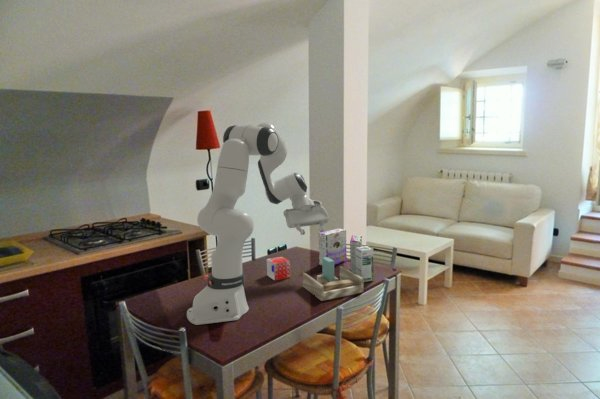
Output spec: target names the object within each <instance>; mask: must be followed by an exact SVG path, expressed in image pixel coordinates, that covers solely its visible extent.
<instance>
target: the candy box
mask: <svg viewBox="0 0 600 399" xmlns="http://www.w3.org/2000/svg"><path fill="white" fill-rule="evenodd" d="M325 257H328V258H330V259H332V260H334V266H336V265H339V264H342V263H345V262H347V261H348V260H347V230H346V229H343V228H340V227H339V228H335V229H330V230H326V231H325V230H324V231H323V232H318V262H319V263H318V264H319V265H320V266H321V267H322V258H325Z"/></svg>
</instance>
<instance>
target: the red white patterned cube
mask: <svg viewBox="0 0 600 399" xmlns="http://www.w3.org/2000/svg"><path fill="white" fill-rule="evenodd" d="M266 274H267V276H268V277H269V278H270V279H272V280H273V281H278V280H279V281H280V280H285V279H288V278H291V261H290V260H289V259H288V258H286V257H284V256H277V257H271V258H266Z"/></svg>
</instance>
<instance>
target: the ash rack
mask: <svg viewBox="0 0 600 399" xmlns="http://www.w3.org/2000/svg"><path fill="white" fill-rule="evenodd" d="M348 279H350V280H351V281H352V282H353V286H351V287H346V288H341V289H336V290H331V291H326V292H324V285H322V283H325V282H328V281H327V280H326V279H324V278H323V276H322V274H319V275H316V279H315V278H314V277H312V276H311V275H309V274H307V273H306V272H302V287H303V288H304V289H305V290H306V291H307V292H308V293H309V292H310V294H312V295H313V296H314V295H315V297H316V298H317V299H318V300H320V301H321V302H323V301H327V300H333V299H338V298H342V297H347V296H352V295H357V294H362V293H364V282H363V278H362V277H361V276H359V275H357V274H355V273H353V272H352V271H351V269H348V268H346V267H345V266H339V278H338V277H336V275H334V281H340V280H348Z"/></svg>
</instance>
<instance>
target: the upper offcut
mask: <svg viewBox="0 0 600 399" xmlns="http://www.w3.org/2000/svg"><path fill="white" fill-rule="evenodd" d="M322 285H324V291H325V292H326V291H331V290H336V289H341V288H346V287H351V286H353V282H352V281H351V280H350V279H348V280H340V279H339V281H332V282H325V283H322Z"/></svg>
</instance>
